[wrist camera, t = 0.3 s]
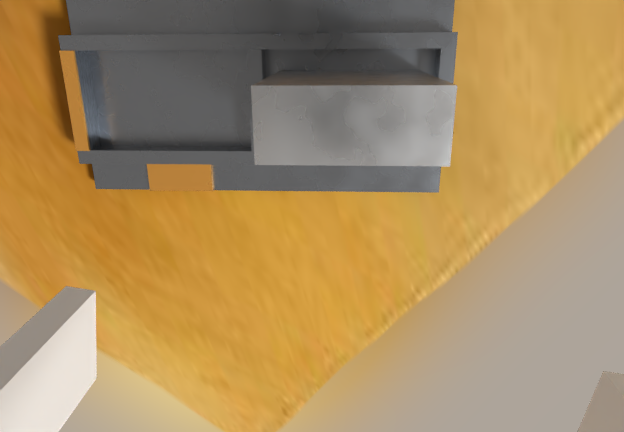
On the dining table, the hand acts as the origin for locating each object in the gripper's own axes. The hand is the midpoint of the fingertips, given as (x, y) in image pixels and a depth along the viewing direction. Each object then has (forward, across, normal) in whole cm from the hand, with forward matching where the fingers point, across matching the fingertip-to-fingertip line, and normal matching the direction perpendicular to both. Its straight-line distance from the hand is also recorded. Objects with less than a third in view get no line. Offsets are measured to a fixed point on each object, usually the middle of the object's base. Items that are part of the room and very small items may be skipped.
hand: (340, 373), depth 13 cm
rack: (+27, -6, +3) cm, 28 cm away
